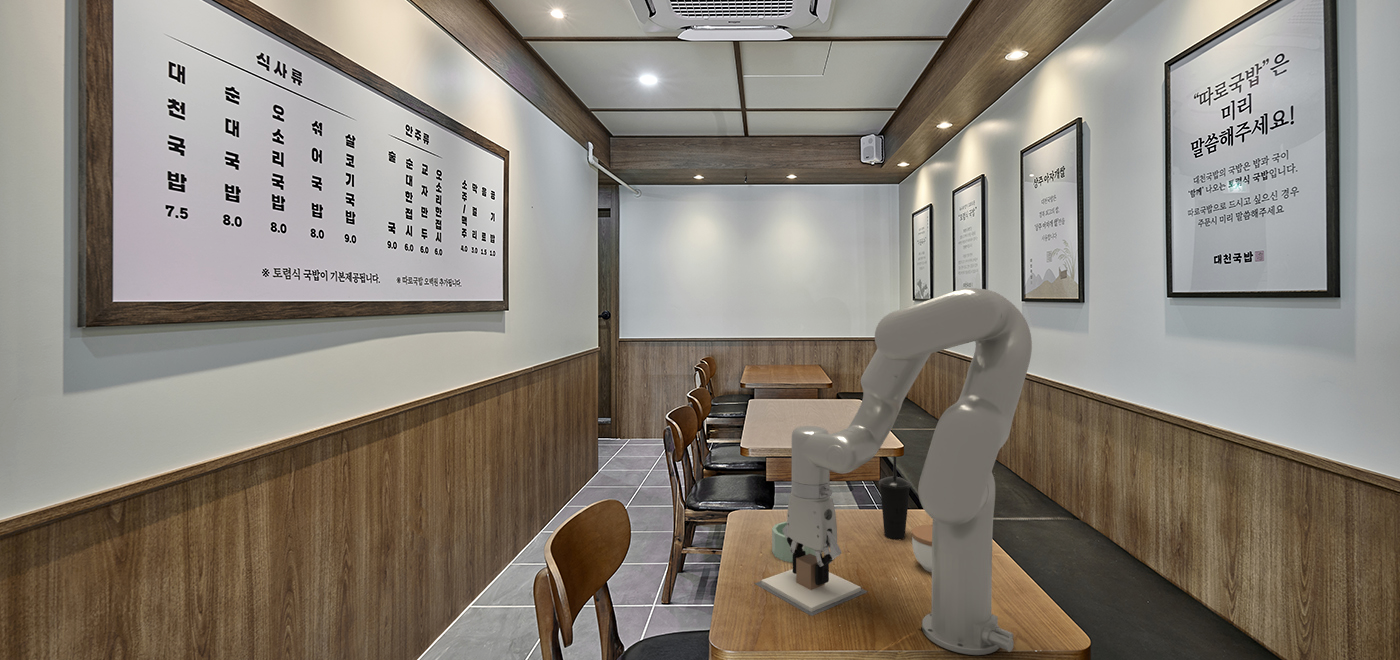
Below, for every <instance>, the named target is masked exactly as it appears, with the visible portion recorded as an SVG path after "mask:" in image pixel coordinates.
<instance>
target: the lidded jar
mask: <svg viewBox="0 0 1400 660" xmlns="http://www.w3.org/2000/svg"><path fill="white" fill-rule="evenodd" d="M911 545H912V551H913V554H914V557H915V559H916V561H917V562H918V563H919V564H920V565H921V566H922V568H923V570H924V571H926V572H928V573H930V574H932V524H923V525H922V524H921V525H917V526H914V527H913V528H912V529H911Z"/></svg>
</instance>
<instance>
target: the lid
mask: <svg viewBox="0 0 1400 660" xmlns="http://www.w3.org/2000/svg"><path fill="white" fill-rule="evenodd" d="M817 564H818V562H817V558H816V556H815V555H812V554H807V555H804V556H801V557H799V558H796V574H794V573H793V568H792V569H789V570H786V571H784V572H781V573H778V574H777V573H776V574H775V575H771V576H770V577H769V576H768V577H767V578H763V579H761V580H760V581H761V584H762V585H764V586H766V587H768V588H769V589H771V590H773V591H775V592H777V593H778V594H780V595H782V596H784V597H785V598H787V599H789V600H791V601H793V602H794V603H796V604H798V605H800V606H801V607H803V608H805V609H807V610H809V611H810V612H813V611H815V610H817V609H820V608H822V607H825V606H827V605H829V604H832V603H834V602H836V601H839V600H841V599H844V598H846V597H848V596H851V595H853V594H855V593H858V592H860V591H861V588H862V587H861V586H860V585H857V584H856V583H853V582H851V581H849V580H847V579H844V578H843V577H841V576H838V575H836V574H834V573H832V572H830V571H829V581H828V582H827V583H824V584H822V585H819V586H818V585H816V583H815V566H816V565H817Z"/></svg>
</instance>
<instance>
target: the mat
mask: <svg viewBox="0 0 1400 660" xmlns="http://www.w3.org/2000/svg"><path fill="white" fill-rule="evenodd" d="M754 585H756V586H758V587H760V588H761V589H763V590H765V591H767V592H768V593H770V594H771V595H773V596H775V597H777V598H778V599H780V600H782V601H784V602H786V603H788V604H790V605H791V606H793V607H794V608H796V609H798V610H800V611H802V612H803V613H805V614H807V615H808V616H810V617H813V616H816V615H817V614H820V613H822V612H825V611H827V610H829V609H831V608H833V607H836V606H839V605H841V604H844V603H845V602H848V601H850V600H853V599H855V598H858V597H859V596H862V595H864V594H867V593H869V591H867V590H865V589H863V588H862V587H861V591H860V592H858V593H855V594H853V595H851V596H848V597H846V598H844V599H841V600H839V601H836V602H834V603H832V604H829V605H827V606H825V607H822V608H820V609H817V610H815V611H813V612H810V611H809V610H807V609H805V608H803V607H801V606H800V605H798V604H796V603H794V602H793V601H791V600H789V599H787V598H785V597H784V596H782V595H780V594H778V593H777V592H775V591H773V590H771V589H769V588H768V587H766V586H764V585H762V584H761V580H759V581H757V582H755V583H754Z"/></svg>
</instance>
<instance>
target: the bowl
mask: <svg viewBox="0 0 1400 660" xmlns="http://www.w3.org/2000/svg"><path fill="white" fill-rule="evenodd" d="M786 525H787V520H786V521H782V522H779V523H775V524H774V525H773V527H772V528H771V552H772V554H773V556H774V557H775V558H776V559H779V560H780V561H783V562H788V563H792V564H793V553H791V551H790V548H791V547H790V545H789V544H788V542H787V538H786V537H785V535H784V533H783V531H782V530H783V528H784V527H785V526H786ZM803 551H805V553H806V555H807V554H812V555H815V556H816V554H815V550H814V549H811V548H809V547H807V546H804V549H803ZM821 553H822V554H823V552H821Z"/></svg>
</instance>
